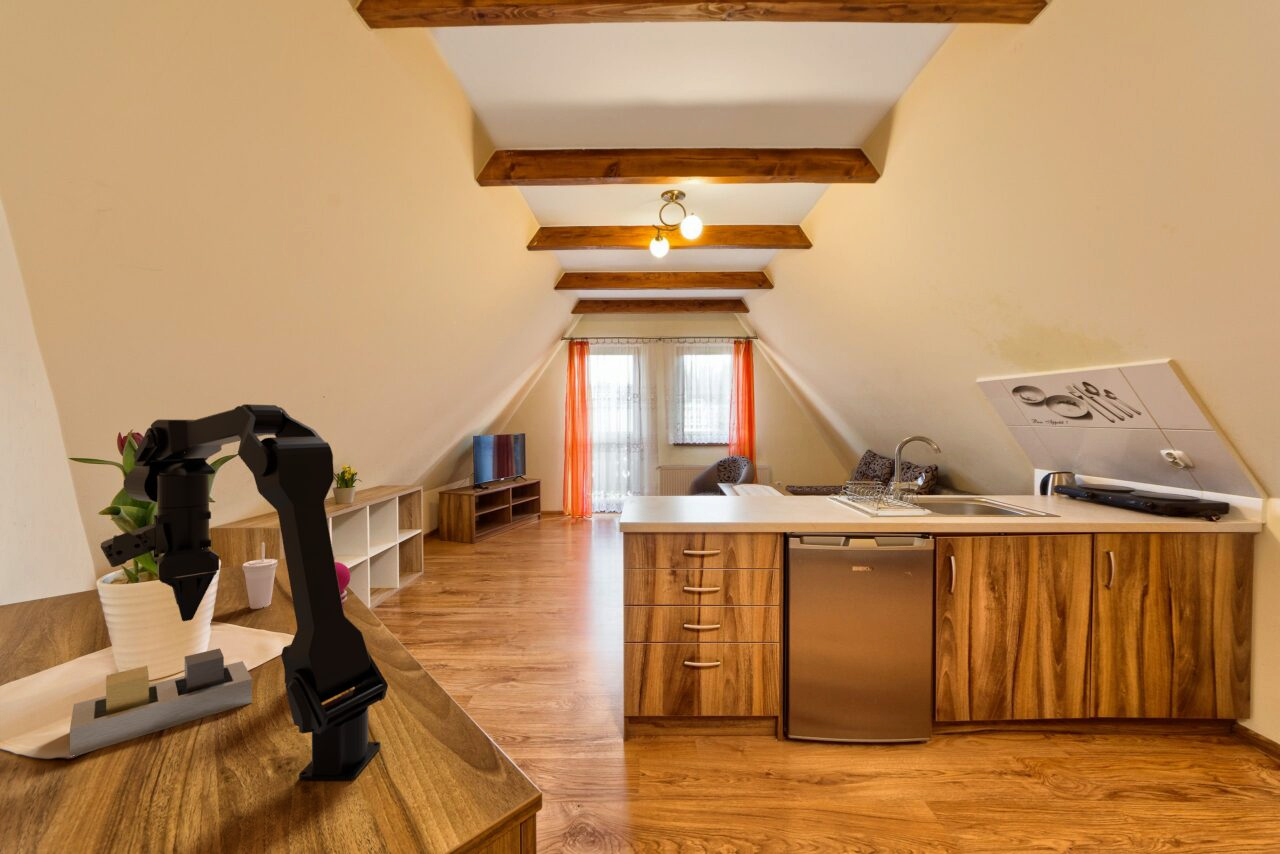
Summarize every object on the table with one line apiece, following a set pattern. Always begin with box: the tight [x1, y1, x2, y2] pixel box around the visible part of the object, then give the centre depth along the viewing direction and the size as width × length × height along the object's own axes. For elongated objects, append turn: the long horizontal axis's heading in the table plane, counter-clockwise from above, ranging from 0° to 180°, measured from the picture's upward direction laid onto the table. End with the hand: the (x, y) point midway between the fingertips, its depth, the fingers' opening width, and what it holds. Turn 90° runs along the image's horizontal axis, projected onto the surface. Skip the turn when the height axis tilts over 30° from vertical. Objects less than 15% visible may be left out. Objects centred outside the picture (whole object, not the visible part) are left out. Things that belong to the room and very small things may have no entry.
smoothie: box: [242, 541, 279, 610], centre depth 118 cm, size 6×6×14 cm
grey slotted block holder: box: [69, 648, 253, 757], centre depth 73 cm, size 18×8×7 cm, turn 135°
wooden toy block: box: [105, 665, 150, 716], centre depth 71 cm, size 4×4×7 cm
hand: (184, 612), depth 77 cm, fingers open, 9 cm apart
